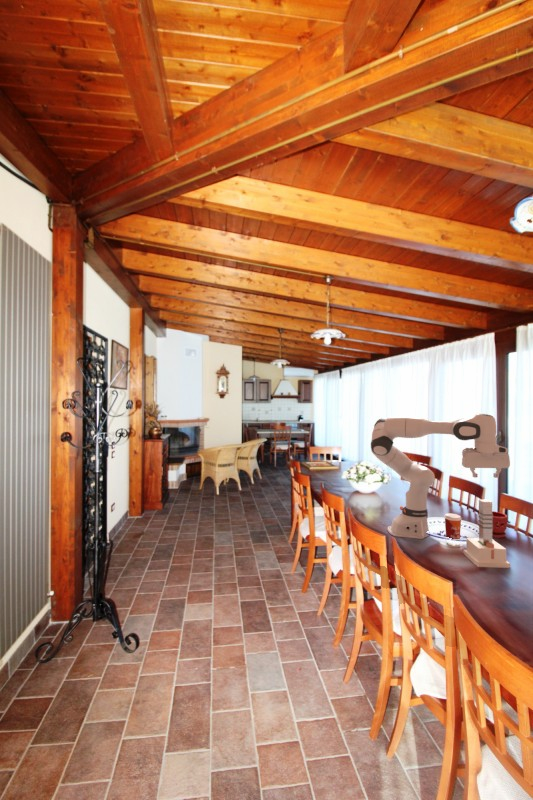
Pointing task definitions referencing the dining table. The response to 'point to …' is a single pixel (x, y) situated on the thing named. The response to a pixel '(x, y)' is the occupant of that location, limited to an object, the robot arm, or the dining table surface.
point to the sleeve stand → (486, 554)
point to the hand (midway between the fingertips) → (485, 477)
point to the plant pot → (499, 524)
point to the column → (485, 522)
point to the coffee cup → (452, 525)
